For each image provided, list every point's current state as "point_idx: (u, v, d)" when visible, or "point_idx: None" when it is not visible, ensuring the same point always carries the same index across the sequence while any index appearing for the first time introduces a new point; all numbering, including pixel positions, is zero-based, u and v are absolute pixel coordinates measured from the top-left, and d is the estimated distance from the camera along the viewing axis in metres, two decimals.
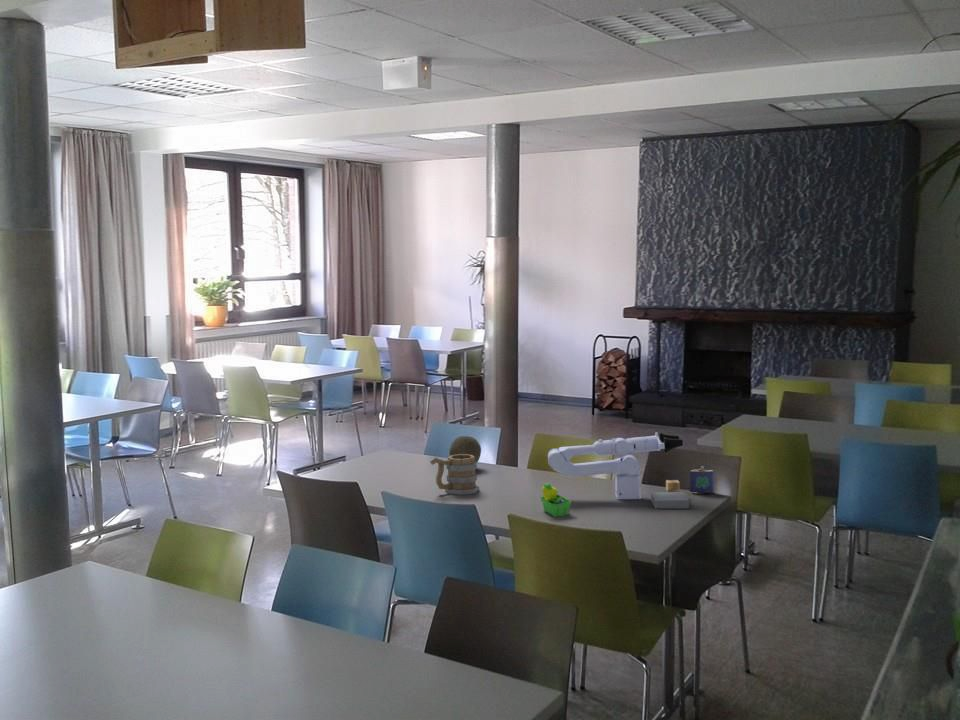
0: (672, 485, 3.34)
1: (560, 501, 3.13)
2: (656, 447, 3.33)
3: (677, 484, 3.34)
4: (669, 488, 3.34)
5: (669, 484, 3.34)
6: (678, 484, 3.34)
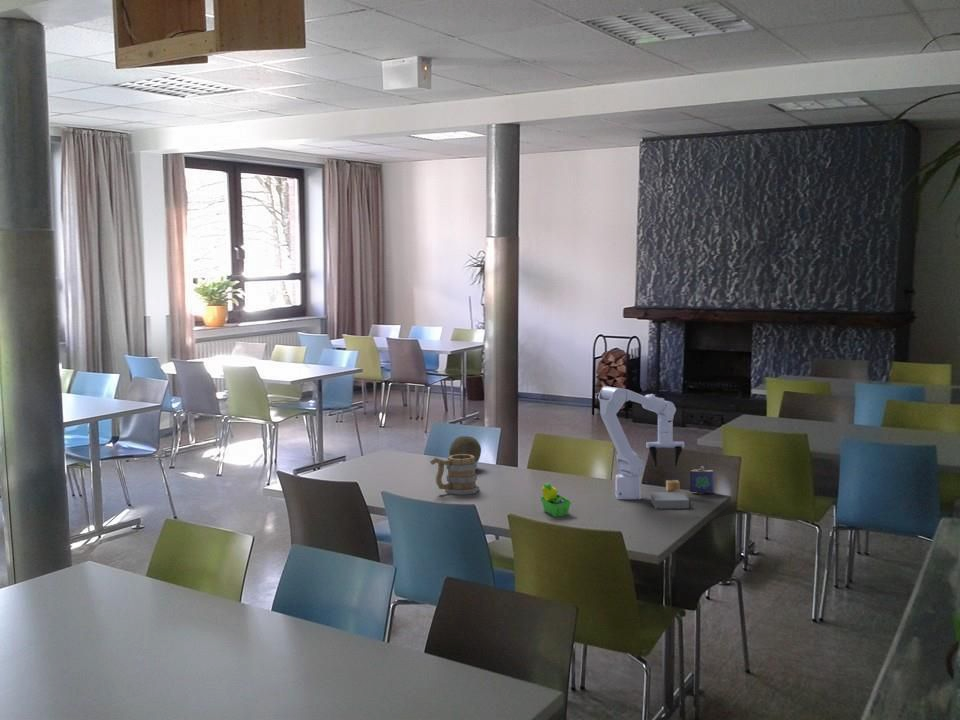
0: (672, 485, 3.34)
1: (560, 501, 3.13)
2: (672, 441, 3.42)
3: (677, 484, 3.34)
4: (669, 488, 3.34)
5: (669, 484, 3.34)
6: (678, 484, 3.34)
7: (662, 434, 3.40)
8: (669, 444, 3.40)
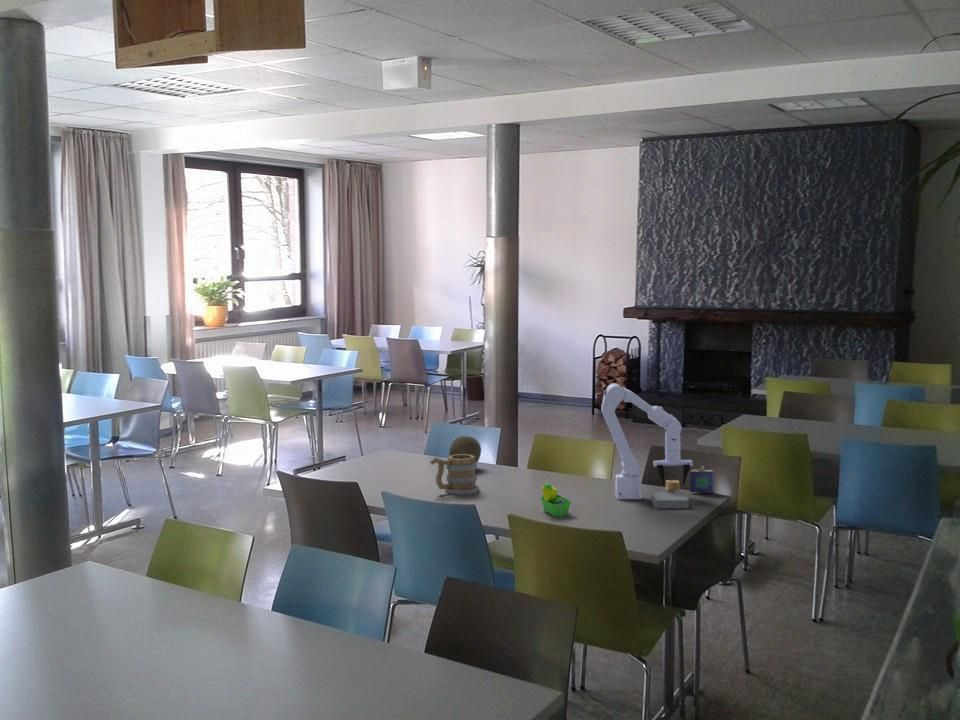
0: (672, 485, 3.34)
1: (560, 501, 3.13)
2: (680, 460, 3.34)
3: (677, 484, 3.34)
4: (669, 488, 3.34)
5: (669, 484, 3.34)
6: (678, 484, 3.34)
7: (670, 452, 3.33)
8: (677, 463, 3.33)
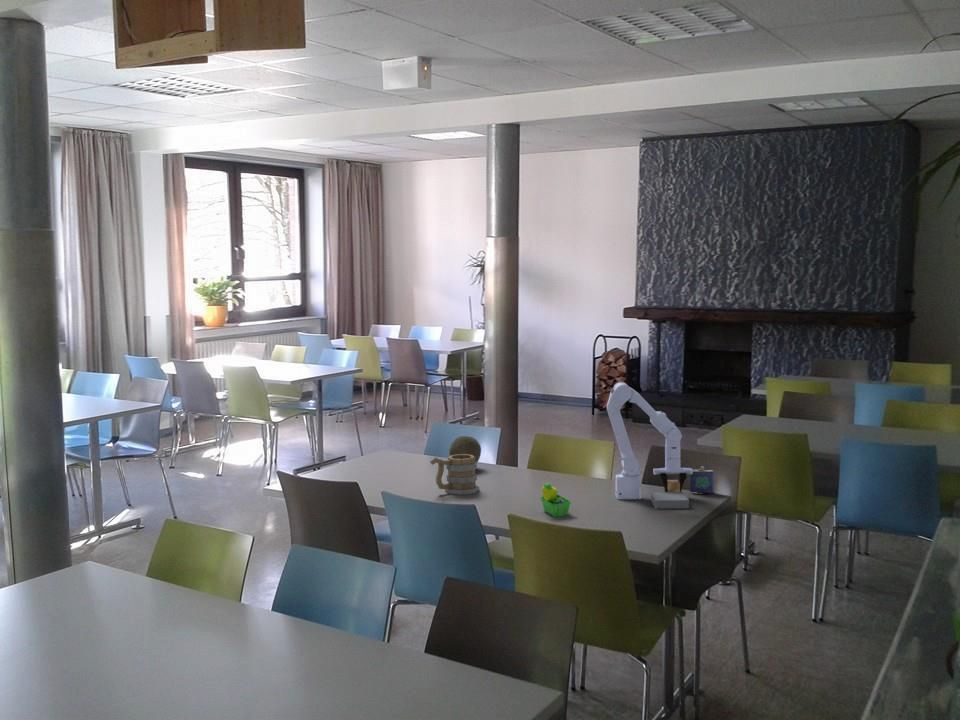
0: (672, 485, 3.34)
1: (560, 501, 3.13)
2: (680, 468, 3.34)
3: (677, 484, 3.34)
4: (669, 488, 3.34)
5: (669, 484, 3.34)
6: (678, 484, 3.34)
7: (670, 461, 3.33)
8: (677, 471, 3.33)
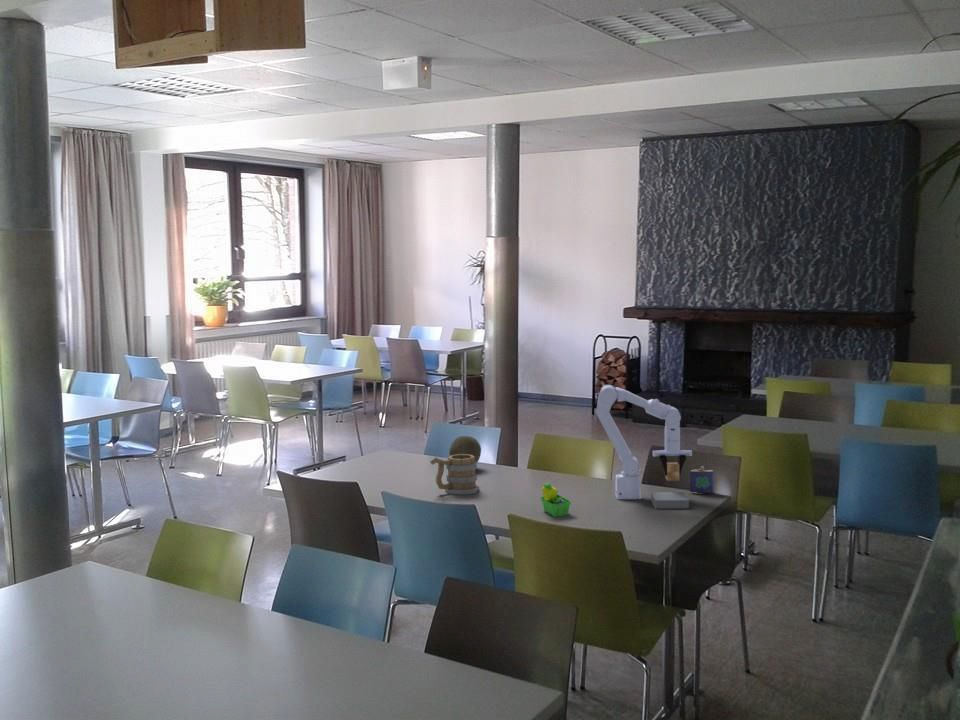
0: (671, 467, 3.32)
1: (560, 501, 3.13)
2: (679, 450, 3.32)
3: (676, 466, 3.32)
4: (668, 470, 3.32)
5: (668, 466, 3.32)
6: (678, 466, 3.32)
7: (669, 442, 3.31)
8: (676, 453, 3.31)
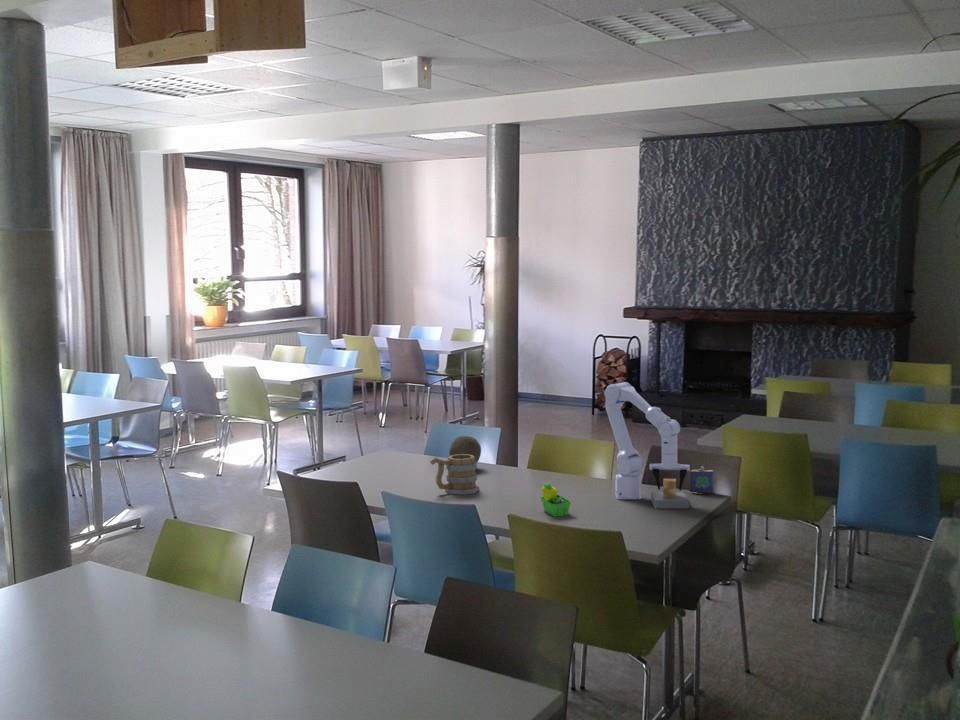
0: (668, 484, 3.23)
1: (560, 501, 3.13)
2: (676, 464, 3.23)
3: (673, 483, 3.23)
4: (665, 487, 3.24)
5: (665, 483, 3.24)
6: (674, 483, 3.23)
7: (665, 456, 3.22)
8: (672, 467, 3.22)
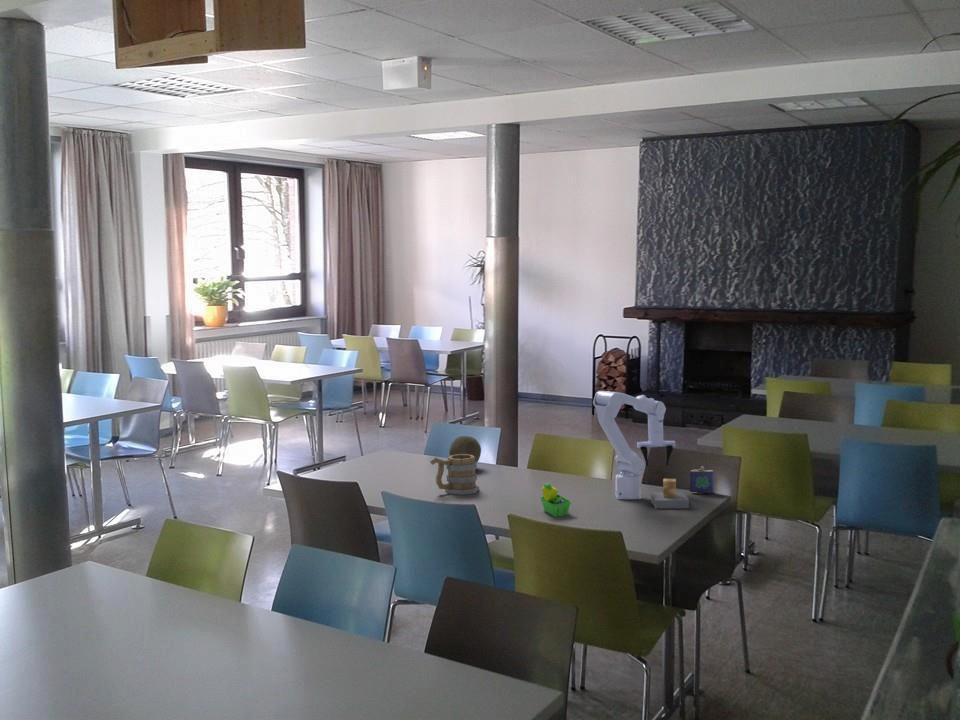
0: (668, 484, 3.23)
1: (560, 501, 3.13)
2: (663, 441, 3.42)
3: (673, 483, 3.23)
4: (665, 487, 3.24)
5: (665, 483, 3.24)
6: (674, 483, 3.23)
7: (652, 434, 3.41)
8: (660, 444, 3.41)
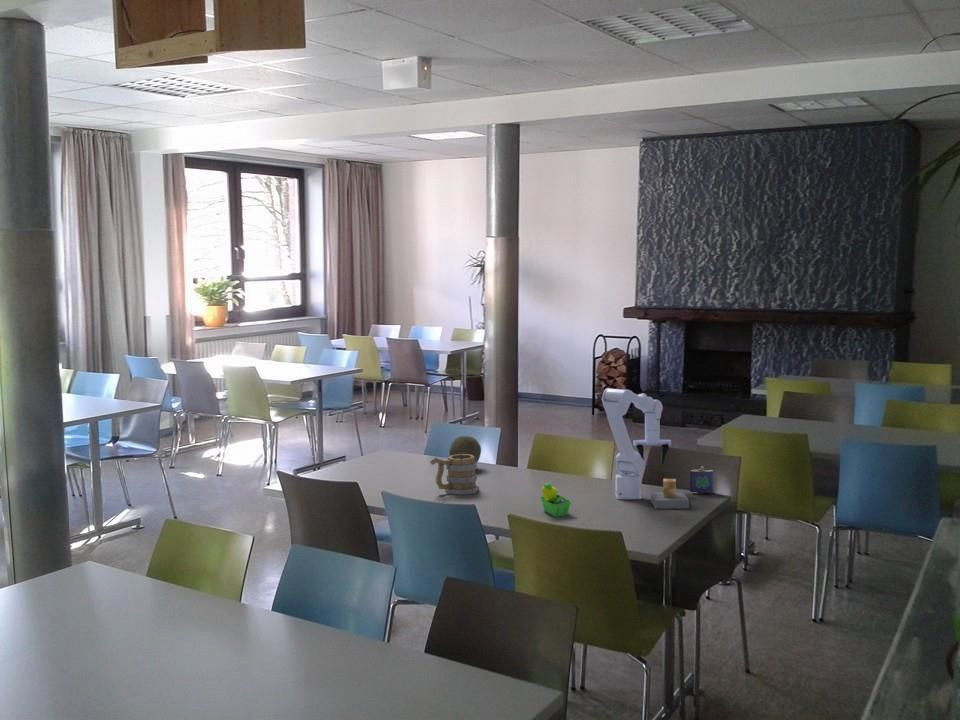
0: (668, 484, 3.23)
1: (560, 501, 3.13)
2: (659, 439, 3.46)
3: (673, 483, 3.23)
4: (665, 487, 3.24)
5: (665, 483, 3.24)
6: (674, 483, 3.23)
7: (649, 432, 3.45)
8: (656, 442, 3.44)
